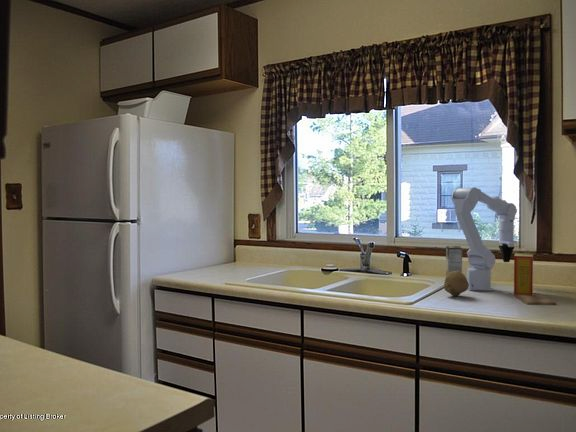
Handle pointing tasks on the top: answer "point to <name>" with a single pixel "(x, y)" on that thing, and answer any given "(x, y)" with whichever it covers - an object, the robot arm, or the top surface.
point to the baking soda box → (523, 274)
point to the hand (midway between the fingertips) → (506, 262)
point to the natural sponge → (455, 283)
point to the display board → (535, 299)
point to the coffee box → (453, 259)
